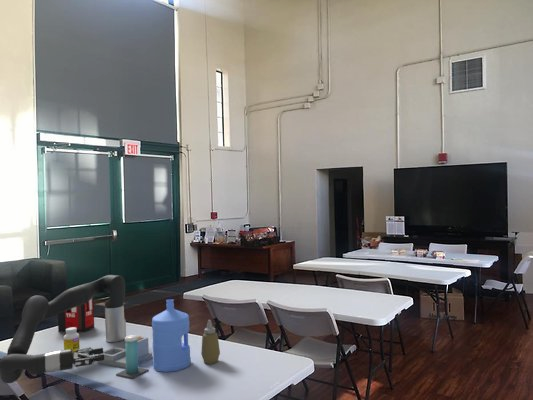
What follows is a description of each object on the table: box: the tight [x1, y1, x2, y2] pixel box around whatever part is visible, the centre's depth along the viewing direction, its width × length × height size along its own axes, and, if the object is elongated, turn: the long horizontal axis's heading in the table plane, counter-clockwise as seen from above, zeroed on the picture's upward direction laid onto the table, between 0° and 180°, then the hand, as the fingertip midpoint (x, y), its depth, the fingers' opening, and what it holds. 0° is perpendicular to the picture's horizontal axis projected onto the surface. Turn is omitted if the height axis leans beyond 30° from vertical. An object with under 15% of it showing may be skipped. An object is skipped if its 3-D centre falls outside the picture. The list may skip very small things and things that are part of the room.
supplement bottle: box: [63, 327, 81, 353], centre depth 202 cm, size 7×7×13 cm
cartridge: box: [124, 334, 139, 374], centre depth 179 cm, size 5×5×14 cm
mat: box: [115, 366, 149, 380], centre depth 179 cm, size 9×9×1 cm
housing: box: [97, 336, 153, 369], centre depth 194 cm, size 14×19×9 cm
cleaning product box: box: [57, 297, 95, 333], centre depth 246 cm, size 16×9×20 cm, turn 81°
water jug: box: [151, 298, 192, 373], centre depth 185 cm, size 16×16×28 cm
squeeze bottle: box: [201, 319, 221, 365], centre depth 188 cm, size 8×8×18 cm
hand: (103, 353), depth 174 cm, fingers open, 8 cm apart
